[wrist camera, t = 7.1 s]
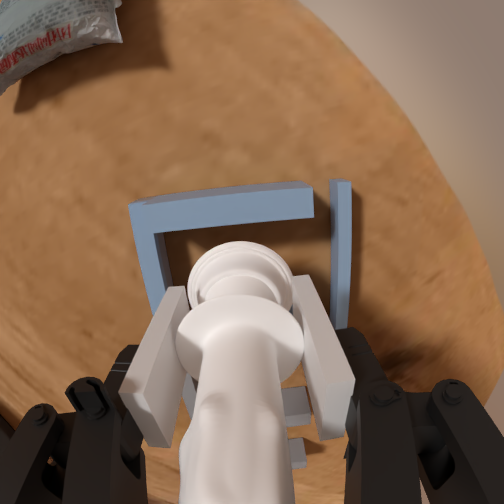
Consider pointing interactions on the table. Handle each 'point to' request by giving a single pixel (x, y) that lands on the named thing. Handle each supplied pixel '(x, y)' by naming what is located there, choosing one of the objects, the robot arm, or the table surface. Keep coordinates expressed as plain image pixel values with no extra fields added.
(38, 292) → the table surface
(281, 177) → the table surface
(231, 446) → the candle
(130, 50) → the table surface
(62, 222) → the table surface
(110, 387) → the robot arm
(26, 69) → the packaged food
